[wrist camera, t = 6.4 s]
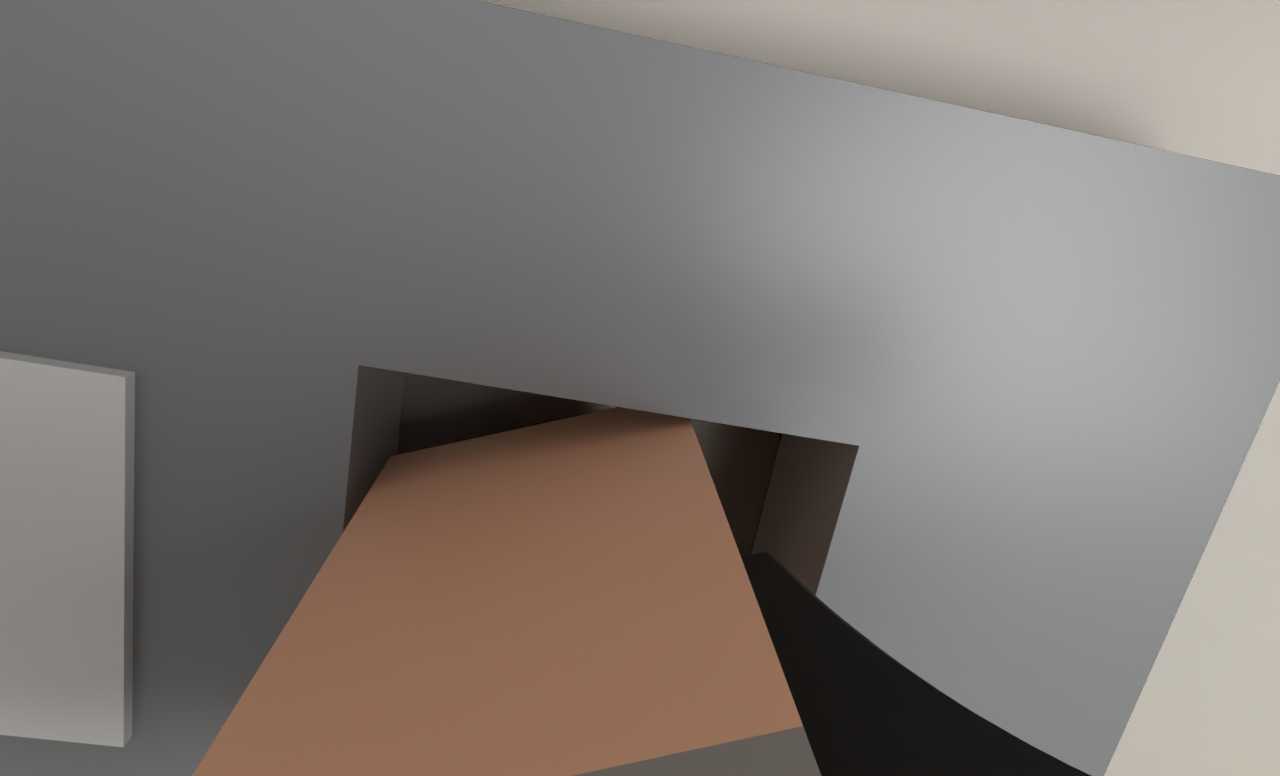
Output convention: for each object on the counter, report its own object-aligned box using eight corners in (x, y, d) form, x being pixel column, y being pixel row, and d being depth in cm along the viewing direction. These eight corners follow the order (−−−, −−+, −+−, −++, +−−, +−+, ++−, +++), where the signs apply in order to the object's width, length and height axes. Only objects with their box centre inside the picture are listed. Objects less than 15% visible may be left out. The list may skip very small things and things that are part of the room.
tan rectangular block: (390, 456, 11) (69, 971, 4) (680, 393, 11) (833, 807, 4) (469, 698, 12) (322, 1399, 5) (730, 642, 12) (911, 1274, 5)
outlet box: (48, -63, 10) (-180, -146, 7) (1180, 178, 12) (1379, 194, 9) (66, 805, 14) (-75, 987, 11) (913, 883, 16) (989, 1059, 13)
